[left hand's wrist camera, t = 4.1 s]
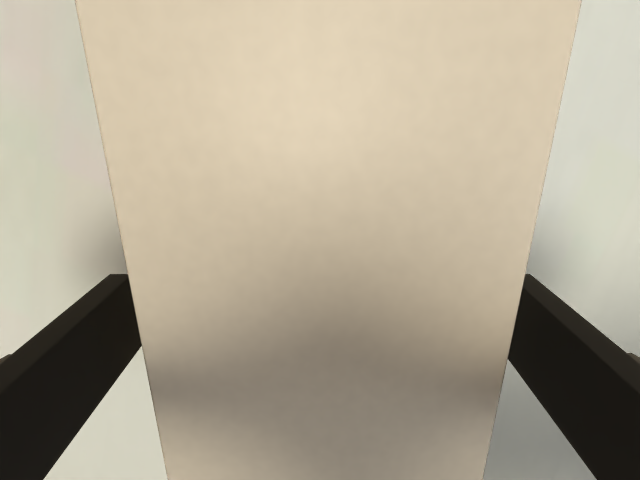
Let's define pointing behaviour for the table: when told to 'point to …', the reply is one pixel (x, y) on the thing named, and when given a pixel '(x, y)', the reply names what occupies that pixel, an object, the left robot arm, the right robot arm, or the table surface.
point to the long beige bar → (326, 221)
